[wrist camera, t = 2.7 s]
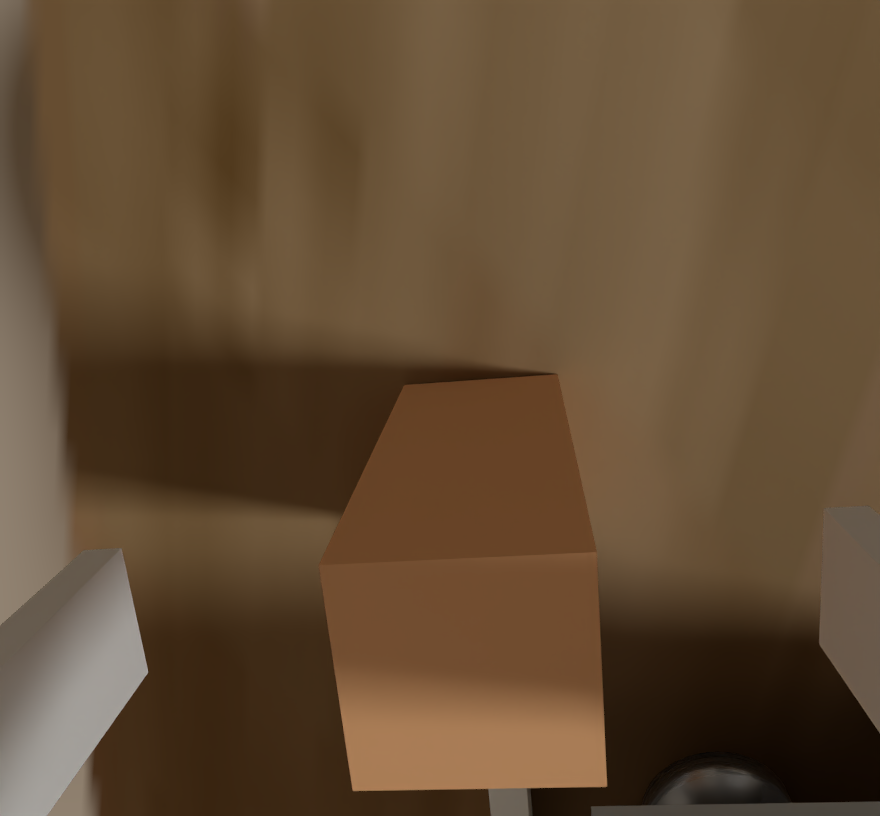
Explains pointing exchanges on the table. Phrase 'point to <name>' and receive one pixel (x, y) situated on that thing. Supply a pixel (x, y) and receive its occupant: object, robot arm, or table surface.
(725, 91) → the table surface
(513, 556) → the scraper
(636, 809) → the cabinet
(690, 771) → the token
